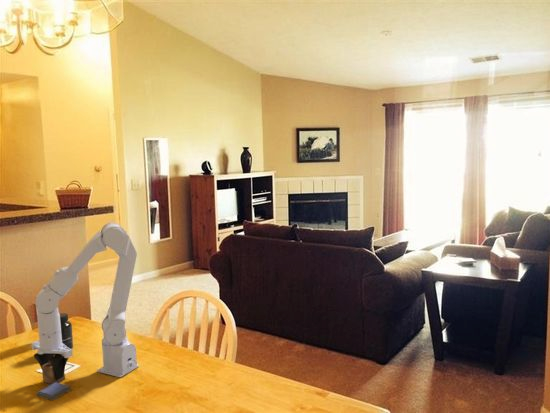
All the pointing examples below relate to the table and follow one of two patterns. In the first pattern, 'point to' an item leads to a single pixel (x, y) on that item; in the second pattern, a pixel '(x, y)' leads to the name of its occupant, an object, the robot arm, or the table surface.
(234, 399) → the table surface
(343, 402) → the table surface
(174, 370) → the table surface
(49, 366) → the stamp
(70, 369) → the form sheet
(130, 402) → the table surface
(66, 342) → the supplement bottle
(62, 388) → the ink pad
